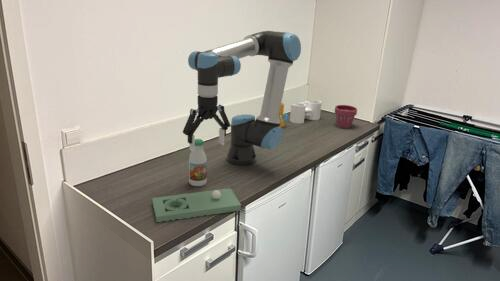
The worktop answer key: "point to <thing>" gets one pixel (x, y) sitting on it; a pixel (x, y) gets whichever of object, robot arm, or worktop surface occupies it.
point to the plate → (194, 205)
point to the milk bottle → (198, 165)
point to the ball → (216, 194)
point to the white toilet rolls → (305, 111)
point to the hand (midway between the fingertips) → (207, 147)
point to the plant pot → (345, 115)
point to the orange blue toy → (282, 115)
